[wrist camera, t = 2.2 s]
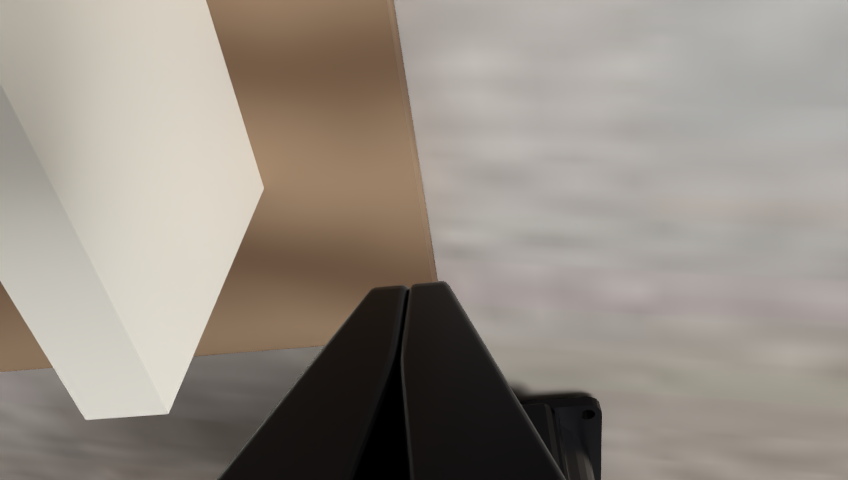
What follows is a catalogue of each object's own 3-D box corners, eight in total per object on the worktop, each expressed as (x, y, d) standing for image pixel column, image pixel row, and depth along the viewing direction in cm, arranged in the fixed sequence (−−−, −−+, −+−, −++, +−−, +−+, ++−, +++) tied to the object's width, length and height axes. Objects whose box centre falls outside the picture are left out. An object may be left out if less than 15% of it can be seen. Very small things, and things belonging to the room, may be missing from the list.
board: (441, 305, 23) (441, 336, 22) (-52, 347, 25) (-78, 378, 24) (303, -572, 12) (287, -608, 11) (-575, -381, 14) (-675, -395, 13)
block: (263, 188, 19) (168, 414, 13) (203, 194, 19) (77, 420, 13) (163, -137, 15) (-67, -49, 8) (85, -125, 15) (-202, -29, 8)
